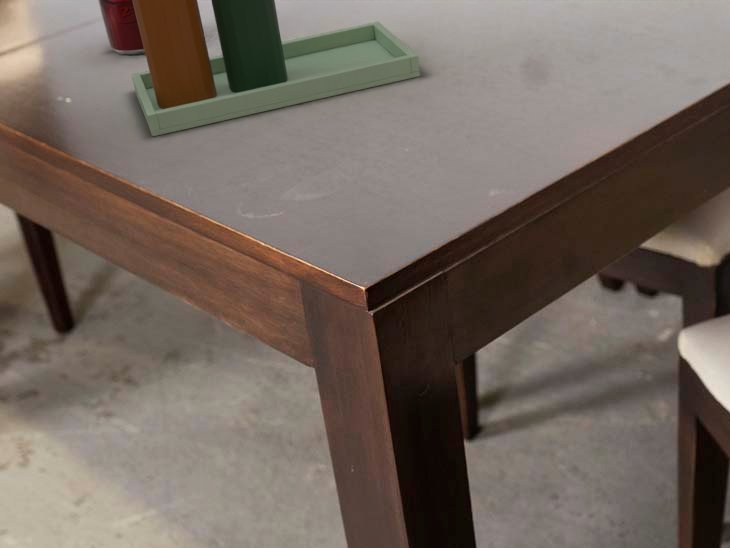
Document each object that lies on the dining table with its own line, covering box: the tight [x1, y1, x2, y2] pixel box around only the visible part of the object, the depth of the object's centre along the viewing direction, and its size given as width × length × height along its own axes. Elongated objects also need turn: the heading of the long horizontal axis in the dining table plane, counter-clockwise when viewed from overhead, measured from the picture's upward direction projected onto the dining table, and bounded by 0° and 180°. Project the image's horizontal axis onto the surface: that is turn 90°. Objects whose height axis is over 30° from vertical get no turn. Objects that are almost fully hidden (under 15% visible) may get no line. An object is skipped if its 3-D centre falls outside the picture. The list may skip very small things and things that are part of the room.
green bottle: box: [211, 0, 288, 93], centre depth 102 cm, size 6×6×15 cm
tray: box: [130, 21, 421, 137], centre depth 106 cm, size 26×13×2 cm, turn 108°
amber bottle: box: [132, 0, 217, 109], centre depth 101 cm, size 6×6×15 cm
